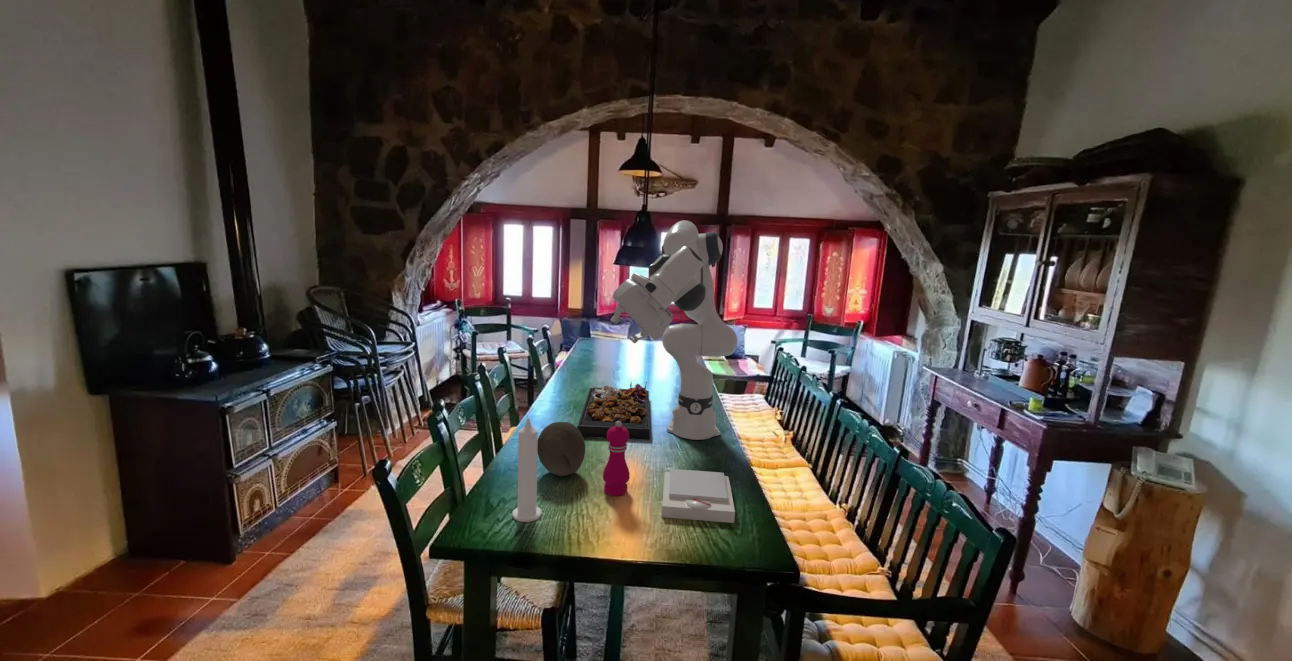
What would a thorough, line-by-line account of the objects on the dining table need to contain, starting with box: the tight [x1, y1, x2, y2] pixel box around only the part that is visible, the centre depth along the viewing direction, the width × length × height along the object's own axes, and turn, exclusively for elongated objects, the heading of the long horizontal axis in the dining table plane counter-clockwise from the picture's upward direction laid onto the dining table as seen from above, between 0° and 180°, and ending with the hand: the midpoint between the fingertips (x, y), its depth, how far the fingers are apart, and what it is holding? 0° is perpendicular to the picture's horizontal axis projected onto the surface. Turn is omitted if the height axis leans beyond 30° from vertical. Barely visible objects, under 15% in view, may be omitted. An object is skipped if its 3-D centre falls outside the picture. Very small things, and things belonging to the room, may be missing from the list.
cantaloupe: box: [537, 421, 586, 477], centre depth 159 cm, size 14×14×15 cm
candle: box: [511, 417, 543, 523], centre depth 134 cm, size 7×7×25 cm
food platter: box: [576, 380, 651, 441], centre depth 210 cm, size 45×25×10 cm, turn 0°
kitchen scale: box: [661, 468, 736, 524], centre depth 148 cm, size 20×18×4 cm
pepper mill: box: [602, 421, 631, 497], centre depth 149 cm, size 7×7×20 cm
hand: (622, 331), depth 152 cm, fingers open, 8 cm apart
